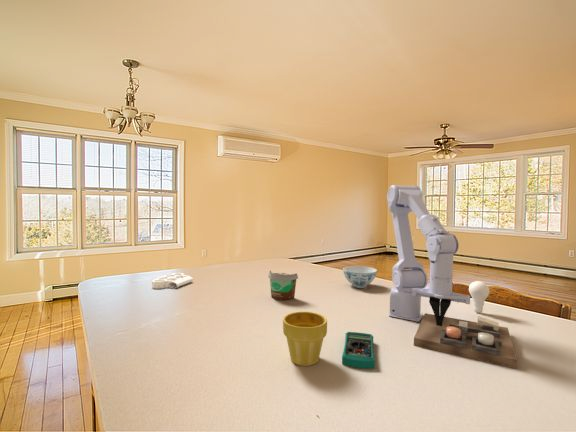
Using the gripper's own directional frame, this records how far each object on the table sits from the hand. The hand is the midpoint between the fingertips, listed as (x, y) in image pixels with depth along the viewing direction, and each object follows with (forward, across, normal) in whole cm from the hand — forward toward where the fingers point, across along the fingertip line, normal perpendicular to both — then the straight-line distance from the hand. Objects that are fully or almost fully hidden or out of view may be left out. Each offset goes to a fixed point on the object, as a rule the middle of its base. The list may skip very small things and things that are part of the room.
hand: (439, 324), depth 88 cm
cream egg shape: (0, +11, -7) cm, 13 cm away
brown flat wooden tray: (+3, +6, +1) cm, 7 cm away
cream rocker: (0, +12, +8) cm, 14 cm away
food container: (+3, -56, +5) cm, 57 cm away
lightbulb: (+3, +10, +29) cm, 31 cm away
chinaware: (+3, -36, +41) cm, 55 cm away
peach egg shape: (0, +4, -7) cm, 8 cm away
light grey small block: (+1, +6, 0) cm, 6 cm away
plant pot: (+3, -26, -32) cm, 42 cm away
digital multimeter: (+4, -16, -22) cm, 27 cm away
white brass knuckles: (+4, -109, -3) cm, 109 cm away
